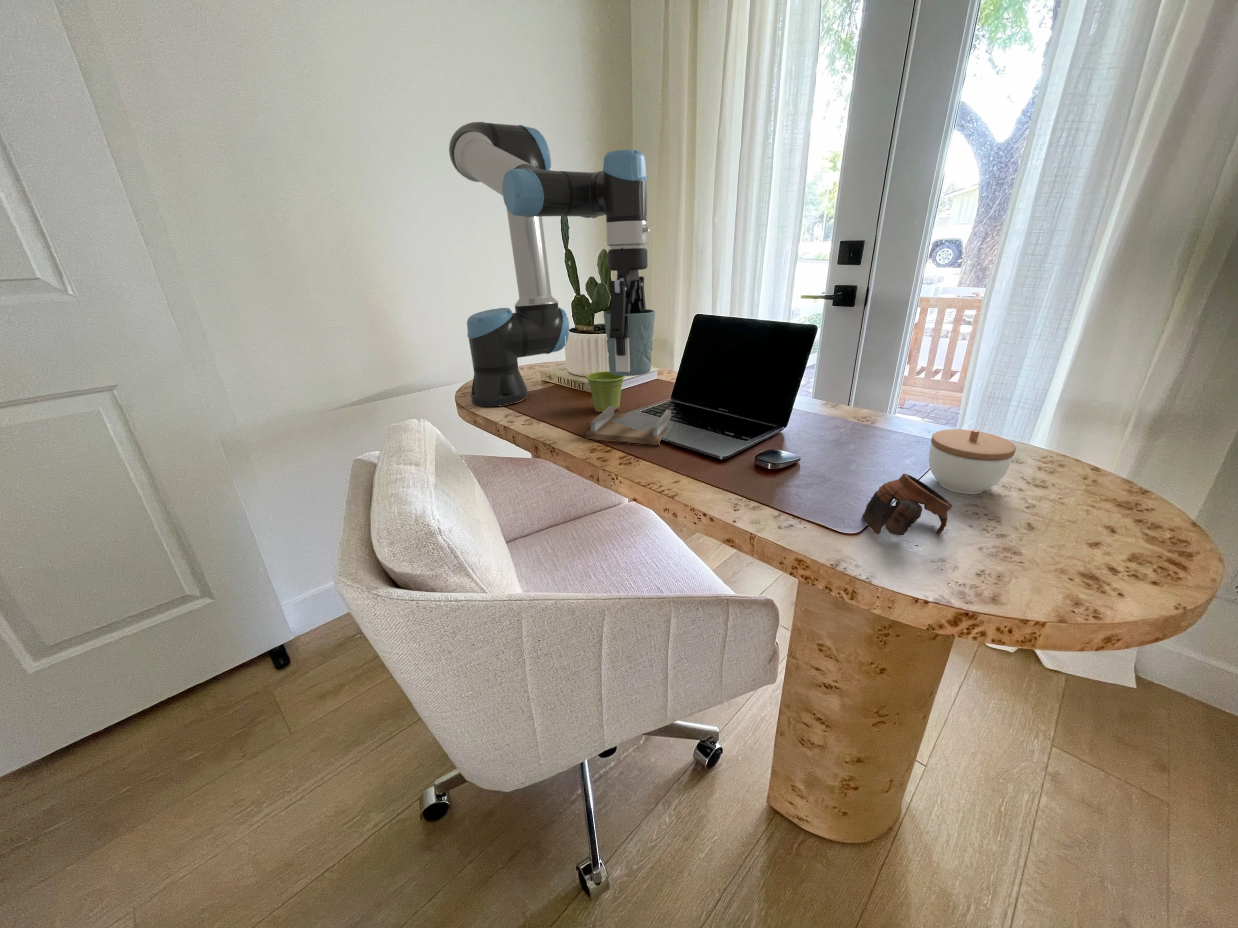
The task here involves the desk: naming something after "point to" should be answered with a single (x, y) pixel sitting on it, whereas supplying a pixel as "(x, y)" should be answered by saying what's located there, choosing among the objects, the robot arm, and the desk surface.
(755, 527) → the desk surface
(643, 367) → the blue ceramic cup
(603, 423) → the board
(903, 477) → the pottery mug
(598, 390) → the plant pot
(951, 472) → the lidded jar
